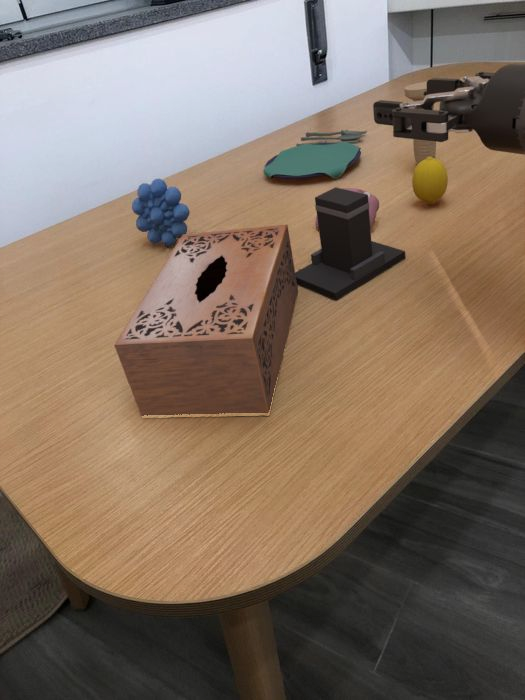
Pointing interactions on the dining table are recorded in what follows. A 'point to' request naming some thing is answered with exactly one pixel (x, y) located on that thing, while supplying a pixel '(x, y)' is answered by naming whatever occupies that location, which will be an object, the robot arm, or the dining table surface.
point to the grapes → (160, 212)
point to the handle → (420, 146)
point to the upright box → (344, 228)
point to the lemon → (430, 180)
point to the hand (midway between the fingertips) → (402, 100)
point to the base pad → (341, 282)
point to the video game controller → (372, 206)
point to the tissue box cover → (213, 324)
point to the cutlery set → (316, 157)
